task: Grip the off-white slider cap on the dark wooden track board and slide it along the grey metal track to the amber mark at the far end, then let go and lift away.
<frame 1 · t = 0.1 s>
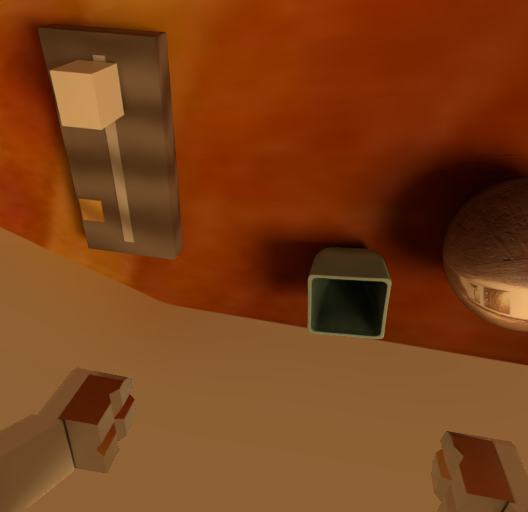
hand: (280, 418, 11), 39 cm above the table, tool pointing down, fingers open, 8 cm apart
flower pot: (347, 261, 55), on the table
fader: (89, 94, 41), point 6 cm above the table, slide at 0.0 cm
track board: (127, 150, 51), on the table
wooden sphere: (502, 216, 48), on the table
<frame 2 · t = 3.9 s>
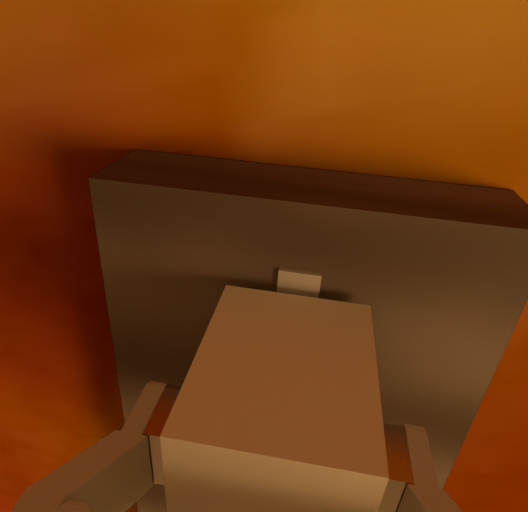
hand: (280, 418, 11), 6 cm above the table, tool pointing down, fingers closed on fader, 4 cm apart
fader: (278, 431, 11), point 6 cm above the table, slide at 0.0 cm, touching gripper
track board: (281, 437, 20), on the table
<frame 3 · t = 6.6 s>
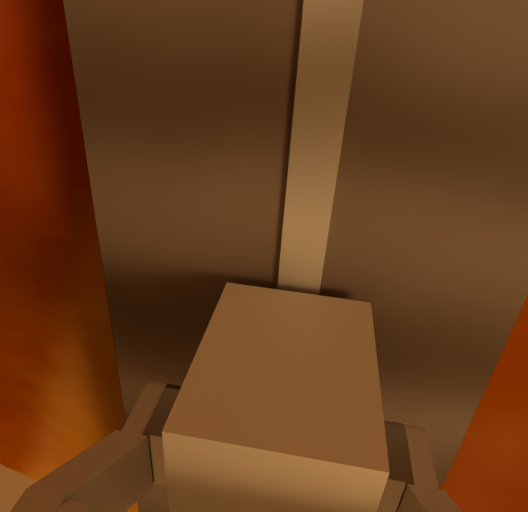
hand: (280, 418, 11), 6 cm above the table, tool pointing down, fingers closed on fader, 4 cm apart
fader: (279, 428, 11), point 6 cm above the table, slide at 9.0 cm, touching gripper
track board: (301, 272, 15), on the table
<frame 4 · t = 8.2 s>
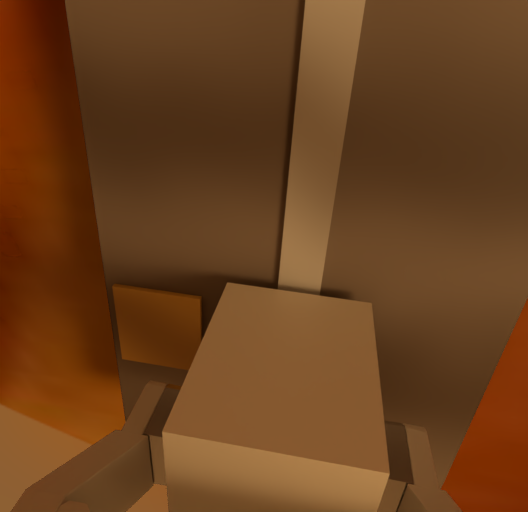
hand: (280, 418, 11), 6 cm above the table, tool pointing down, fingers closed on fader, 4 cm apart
fader: (279, 428, 11), point 6 cm above the table, slide at 15.0 cm, touching gripper
track board: (324, 100, 12), on the table
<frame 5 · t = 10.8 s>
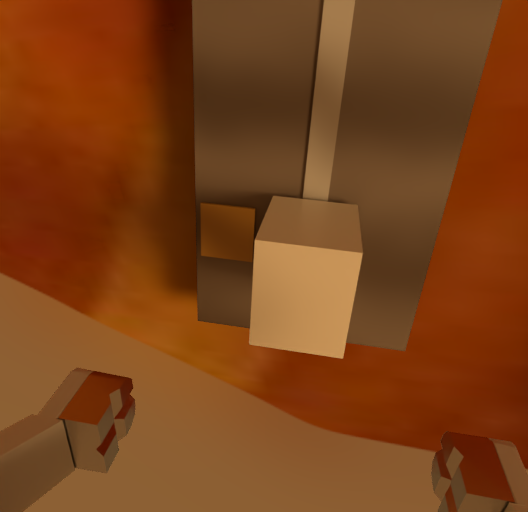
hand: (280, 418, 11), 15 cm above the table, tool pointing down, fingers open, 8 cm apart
fader: (305, 271, 19), point 6 cm above the table, slide at 15.0 cm
track board: (329, 89, 21), on the table
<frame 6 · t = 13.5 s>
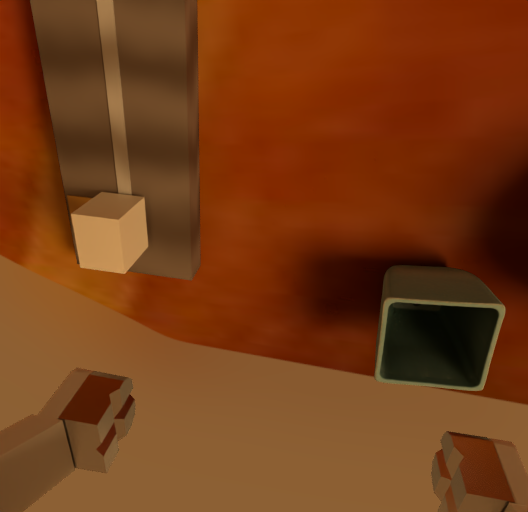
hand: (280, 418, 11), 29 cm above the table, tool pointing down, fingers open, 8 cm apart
flower pot: (417, 285, 42), on the table
fader: (112, 231, 37), point 6 cm above the table, slide at 15.0 cm
track board: (134, 133, 38), on the table
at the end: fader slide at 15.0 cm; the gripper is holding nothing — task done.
